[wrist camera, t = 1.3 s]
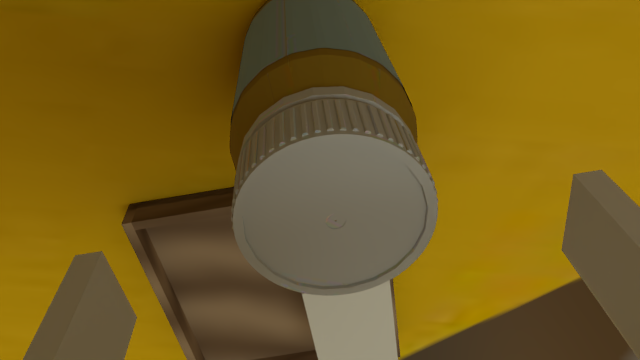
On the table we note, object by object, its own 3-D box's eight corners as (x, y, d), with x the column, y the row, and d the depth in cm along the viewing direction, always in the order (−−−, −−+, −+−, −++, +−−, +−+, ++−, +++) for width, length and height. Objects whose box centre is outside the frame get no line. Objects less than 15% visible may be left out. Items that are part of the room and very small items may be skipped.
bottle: (219, 24, 26) (165, 189, 14) (338, -45, 25) (400, 70, 12) (285, 127, 30) (291, 331, 17) (393, 73, 28) (483, 253, 16)
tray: (129, 204, 32) (121, 224, 30) (377, 163, 32) (382, 181, 30) (204, 365, 42) (201, 387, 40) (395, 335, 41) (400, 356, 40)
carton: (298, 226, 33) (301, 293, 28) (373, 214, 33) (389, 280, 28) (320, 324, 39) (327, 395, 34) (384, 314, 39) (400, 384, 34)
